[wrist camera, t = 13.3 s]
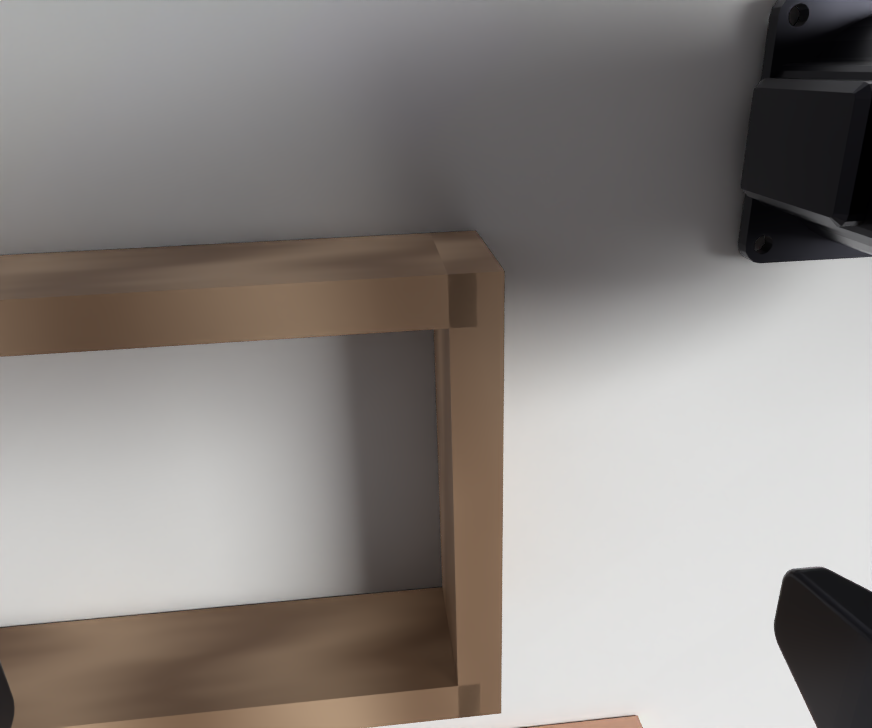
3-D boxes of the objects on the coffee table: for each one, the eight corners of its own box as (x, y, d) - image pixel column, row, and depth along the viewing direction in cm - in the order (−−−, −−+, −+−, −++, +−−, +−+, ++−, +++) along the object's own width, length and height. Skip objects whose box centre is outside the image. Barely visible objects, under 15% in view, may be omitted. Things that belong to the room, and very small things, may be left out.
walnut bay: (476, 230, 19) (504, 271, 15) (478, 612, 24) (501, 713, 20) (-199, 265, 17) (-351, 319, 14) (-45, 662, 22) (-124, 780, 19)
